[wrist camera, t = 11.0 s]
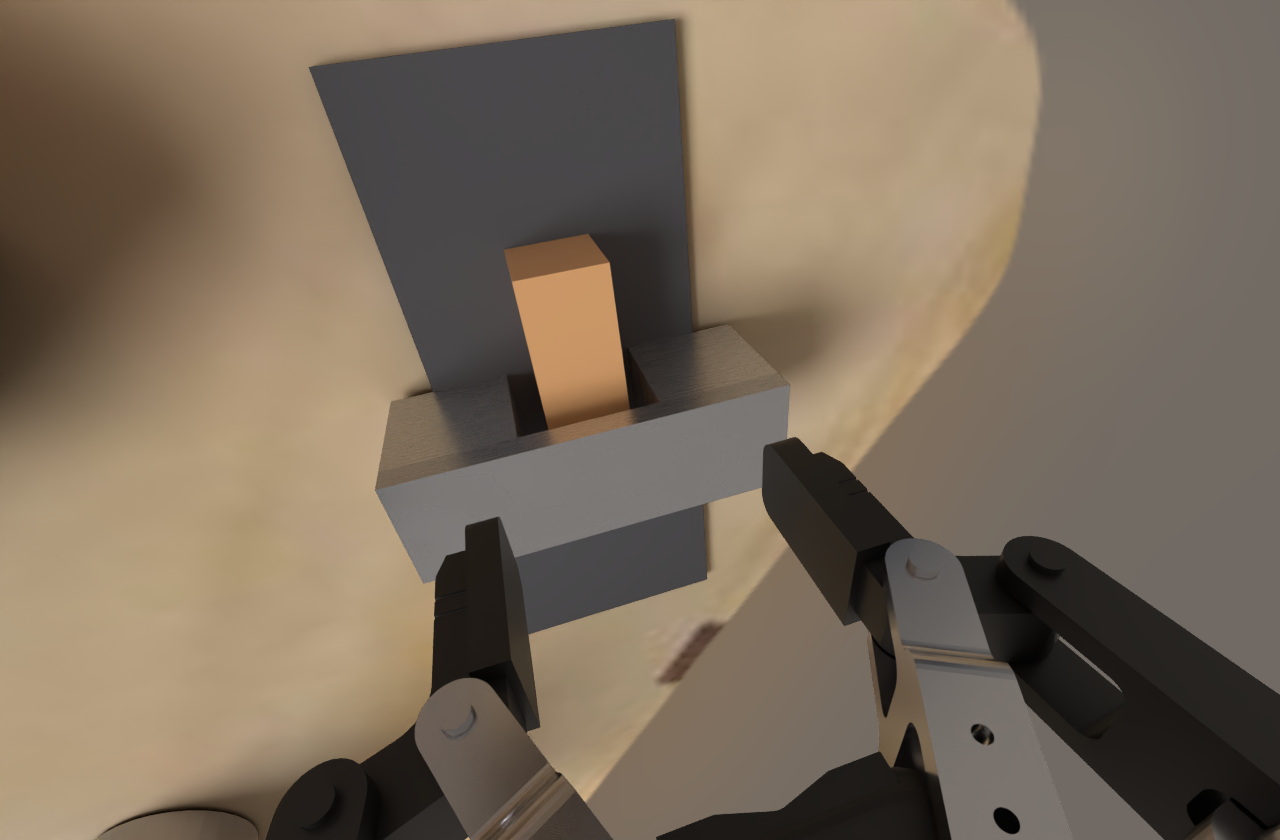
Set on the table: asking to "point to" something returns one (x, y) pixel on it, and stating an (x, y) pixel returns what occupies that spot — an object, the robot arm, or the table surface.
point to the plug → (570, 328)
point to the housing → (581, 451)
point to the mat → (531, 236)
